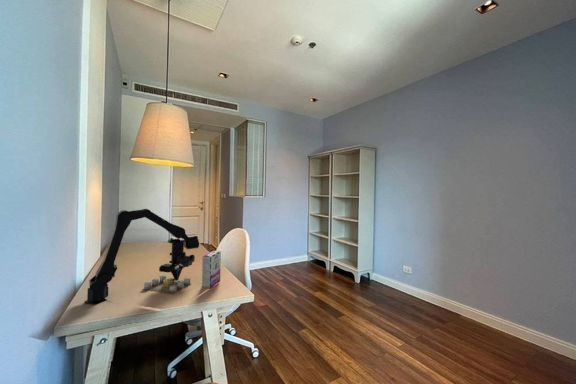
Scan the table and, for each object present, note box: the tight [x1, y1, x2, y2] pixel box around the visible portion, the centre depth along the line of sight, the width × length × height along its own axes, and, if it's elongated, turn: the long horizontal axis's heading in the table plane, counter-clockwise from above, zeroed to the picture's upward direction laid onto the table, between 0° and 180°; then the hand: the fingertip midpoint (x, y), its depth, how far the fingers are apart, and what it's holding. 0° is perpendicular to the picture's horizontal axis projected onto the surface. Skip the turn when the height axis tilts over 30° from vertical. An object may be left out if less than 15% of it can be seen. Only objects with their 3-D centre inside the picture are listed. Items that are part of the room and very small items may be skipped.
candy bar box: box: [201, 250, 222, 289], centre depth 123 cm, size 11×5×16 cm, turn 170°
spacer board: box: [141, 274, 192, 295], centre depth 113 cm, size 20×18×4 cm
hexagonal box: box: [163, 277, 175, 288], centre depth 117 cm, size 5×6×3 cm
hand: (176, 280), depth 123 cm, fingers closed
